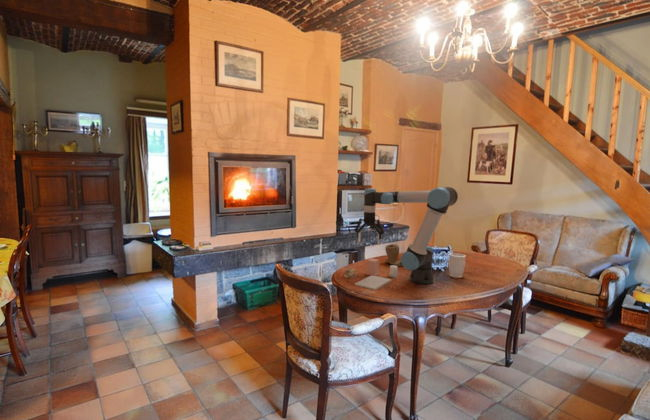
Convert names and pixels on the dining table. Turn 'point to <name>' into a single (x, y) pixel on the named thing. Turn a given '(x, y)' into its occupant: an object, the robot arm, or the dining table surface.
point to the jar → (456, 264)
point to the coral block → (372, 267)
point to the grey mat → (373, 282)
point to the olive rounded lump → (349, 273)
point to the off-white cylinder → (393, 271)
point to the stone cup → (393, 254)
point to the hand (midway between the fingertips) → (368, 243)
